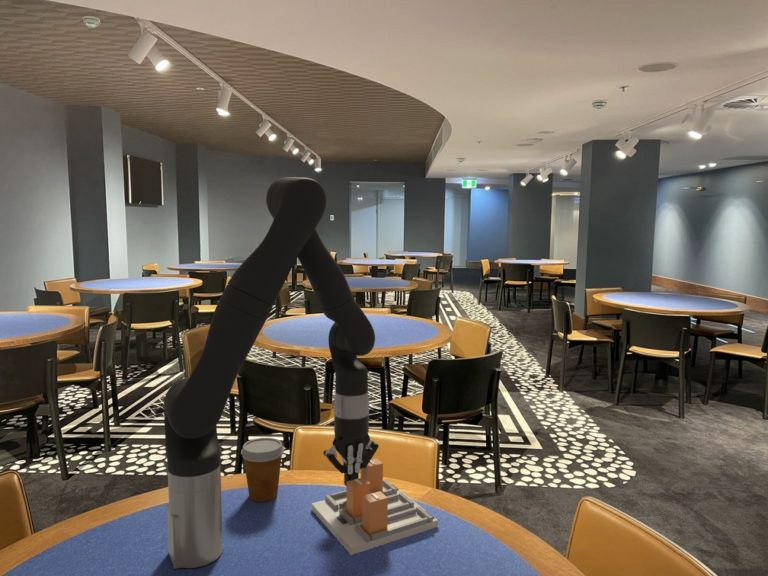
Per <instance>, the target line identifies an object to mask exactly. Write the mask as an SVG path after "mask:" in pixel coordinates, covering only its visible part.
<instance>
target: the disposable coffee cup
mask: <svg viewBox="0 0 768 576" xmlns="http://www.w3.org/2000/svg"><path fill="white" fill-rule="evenodd" d="M284 452H285V447H284V446H283V443H282V441H280V440H279V439H277V438H273V437H258V438H253V439H250V440H248V441H246V442H245V443H244V444H243V445H242V449H241V451H240V454H241V456H242V458H243V463H244V464H243V465H244V471H245V478H246V483H247V484H246V485H247V490H248V496H249V499H250V500H252V501H253V502H259V503H260V502H261V503H262V502H268V501H272V500H273V499H275V498H276V497H277V496H278V491H279V482H280V476H281V475H280V474H281V467H282V466H281V465H282V455H283V453H284Z"/></svg>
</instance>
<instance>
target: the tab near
mask: <svg viewBox="0 0 768 576" xmlns="http://www.w3.org/2000/svg"><path fill="white" fill-rule="evenodd" d="M387 525H388V497H386V496H385V495H384V494H383V493H382V492H381V491H379V492H375V493H371V494H368V495H364V496H362V529H363V530H364V531H365V532H366V533H367V534H368V535H369V536H370V537H371V534H374V533H377V532H381V531H384V530H387Z"/></svg>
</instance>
